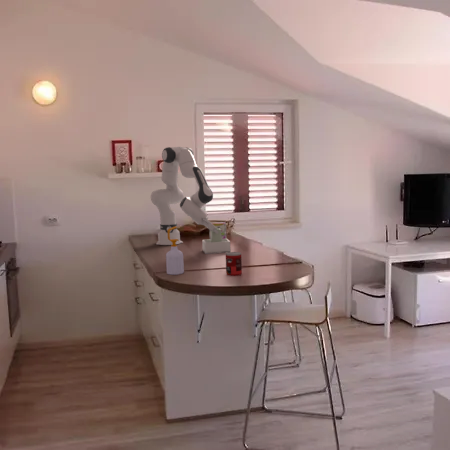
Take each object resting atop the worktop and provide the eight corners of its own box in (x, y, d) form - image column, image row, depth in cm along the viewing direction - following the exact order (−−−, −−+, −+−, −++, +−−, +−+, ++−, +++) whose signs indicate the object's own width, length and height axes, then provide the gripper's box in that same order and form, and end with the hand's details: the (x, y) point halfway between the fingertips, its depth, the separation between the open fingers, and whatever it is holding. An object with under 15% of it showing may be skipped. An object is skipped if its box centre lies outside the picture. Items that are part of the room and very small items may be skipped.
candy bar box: (209, 247, 372) (208, 223, 370) (210, 246, 377) (209, 222, 375) (226, 247, 371) (225, 222, 369) (226, 246, 376) (226, 222, 374)
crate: (202, 250, 362) (202, 239, 361) (226, 248, 364) (226, 238, 363) (205, 253, 348) (205, 242, 347) (230, 252, 350) (230, 241, 350)
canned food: (225, 273, 288) (224, 252, 286) (240, 272, 288) (240, 251, 287) (226, 276, 280) (226, 254, 279) (242, 275, 281) (242, 254, 279)
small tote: (211, 242, 358) (210, 228, 357) (220, 242, 359) (219, 228, 358) (212, 244, 352) (211, 229, 351) (221, 243, 353) (221, 229, 352)
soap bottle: (185, 273, 289) (183, 227, 286) (168, 275, 287) (166, 228, 284) (182, 270, 298) (180, 225, 295) (165, 272, 295) (163, 226, 292)
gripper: (206, 215, 342) (222, 230, 344) (202, 212, 362) (217, 226, 365) (199, 223, 342) (216, 238, 344) (195, 220, 362) (211, 234, 364)
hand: (216, 232), depth 355 cm, fingers closed on small tote, 6 cm apart
